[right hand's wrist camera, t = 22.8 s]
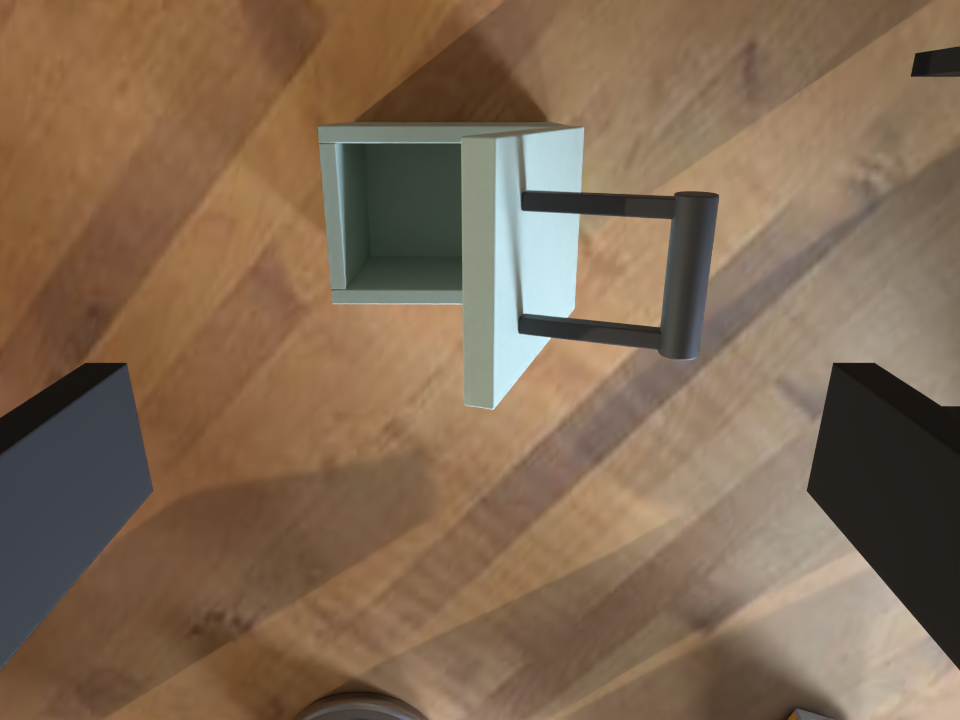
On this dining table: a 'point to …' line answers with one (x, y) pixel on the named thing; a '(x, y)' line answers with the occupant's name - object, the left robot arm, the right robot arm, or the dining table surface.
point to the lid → (558, 257)
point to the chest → (397, 208)
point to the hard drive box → (806, 716)
